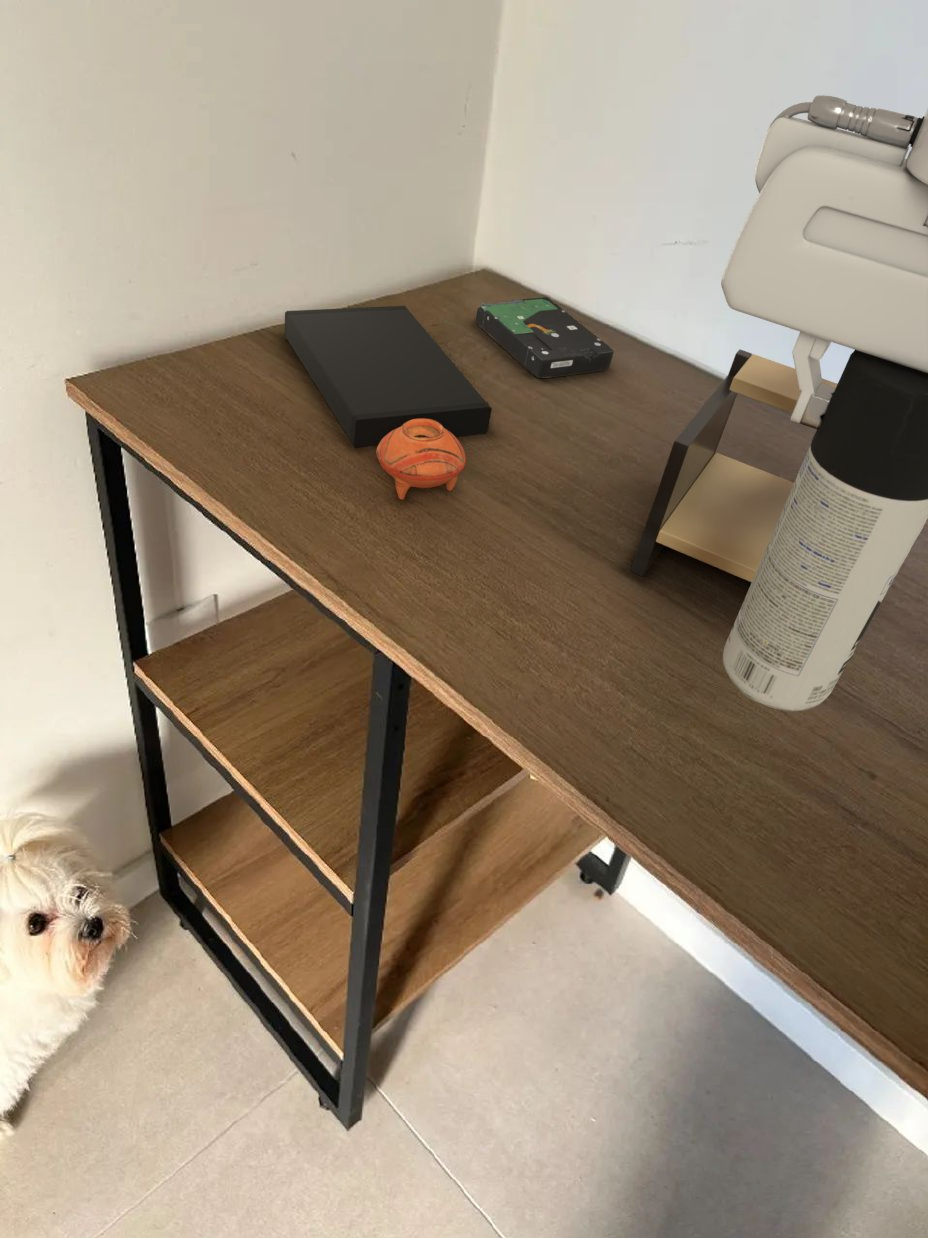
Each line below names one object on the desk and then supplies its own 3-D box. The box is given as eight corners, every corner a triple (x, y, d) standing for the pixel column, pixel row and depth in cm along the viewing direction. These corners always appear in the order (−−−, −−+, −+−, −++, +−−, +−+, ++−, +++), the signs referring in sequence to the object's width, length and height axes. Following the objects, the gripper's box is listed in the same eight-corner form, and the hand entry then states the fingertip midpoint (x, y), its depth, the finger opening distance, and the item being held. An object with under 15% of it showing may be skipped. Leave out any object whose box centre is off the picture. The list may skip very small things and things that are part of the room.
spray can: (842, 722, 54) (1024, 414, 41) (728, 709, 53) (876, 393, 40) (812, 644, 59) (965, 348, 46) (708, 632, 58) (833, 329, 45)
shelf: (831, 549, 87) (903, 406, 77) (791, 642, 76) (870, 489, 66) (687, 491, 91) (739, 348, 81) (629, 571, 80) (681, 417, 70)
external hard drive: (353, 447, 88) (355, 419, 86) (284, 336, 103) (284, 310, 101) (487, 433, 94) (492, 406, 92) (403, 329, 109) (405, 305, 107)
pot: (444, 521, 81) (436, 451, 77) (367, 507, 84) (355, 438, 80) (483, 478, 86) (478, 410, 82) (410, 466, 90) (401, 400, 85)
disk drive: (610, 372, 109) (542, 315, 117) (616, 350, 107) (547, 294, 116) (537, 383, 104) (472, 322, 113) (542, 360, 102) (476, 300, 111)
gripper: (763, 92, 38) (668, 400, 47) (1338, 240, 32) (1102, 559, 41) (798, 74, 42) (705, 359, 51) (1308, 201, 36) (1101, 497, 45)
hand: (884, 449), depth 46 cm, fingers closed on spray can, 6 cm apart
